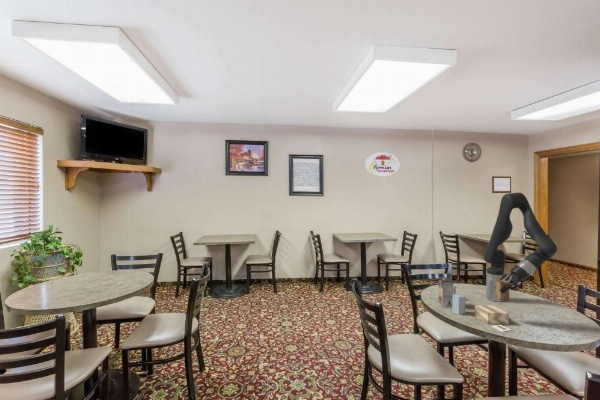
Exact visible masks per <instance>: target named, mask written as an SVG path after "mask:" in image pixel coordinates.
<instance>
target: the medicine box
mask: <svg viewBox="0 0 600 400" xmlns="http://www.w3.org/2000/svg"><path fill="white" fill-rule="evenodd" d="M454 294H457V286H456V285H455V284H453V295H454Z"/></svg>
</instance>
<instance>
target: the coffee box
mask: <svg viewBox="0 0 600 400" xmlns="http://www.w3.org/2000/svg"><path fill="white" fill-rule="evenodd" d="M453 285H454V281H453V280H452V279H451V278H450V277H441V276H440V277H438V300H437V301H438V304H440V306H441V307H442V308H449V309H451V308H452V304H453Z"/></svg>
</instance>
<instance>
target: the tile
mask: <svg viewBox="0 0 600 400" xmlns="http://www.w3.org/2000/svg"><path fill="white" fill-rule="evenodd" d="M491 328H494V329H496V330H498V331H500V332H502V333H503V332H510V331H511V332H512V331H513V330H512V329H511V328H509V327H507V326H504V325H503V324H493V325H492V326H491Z"/></svg>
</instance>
